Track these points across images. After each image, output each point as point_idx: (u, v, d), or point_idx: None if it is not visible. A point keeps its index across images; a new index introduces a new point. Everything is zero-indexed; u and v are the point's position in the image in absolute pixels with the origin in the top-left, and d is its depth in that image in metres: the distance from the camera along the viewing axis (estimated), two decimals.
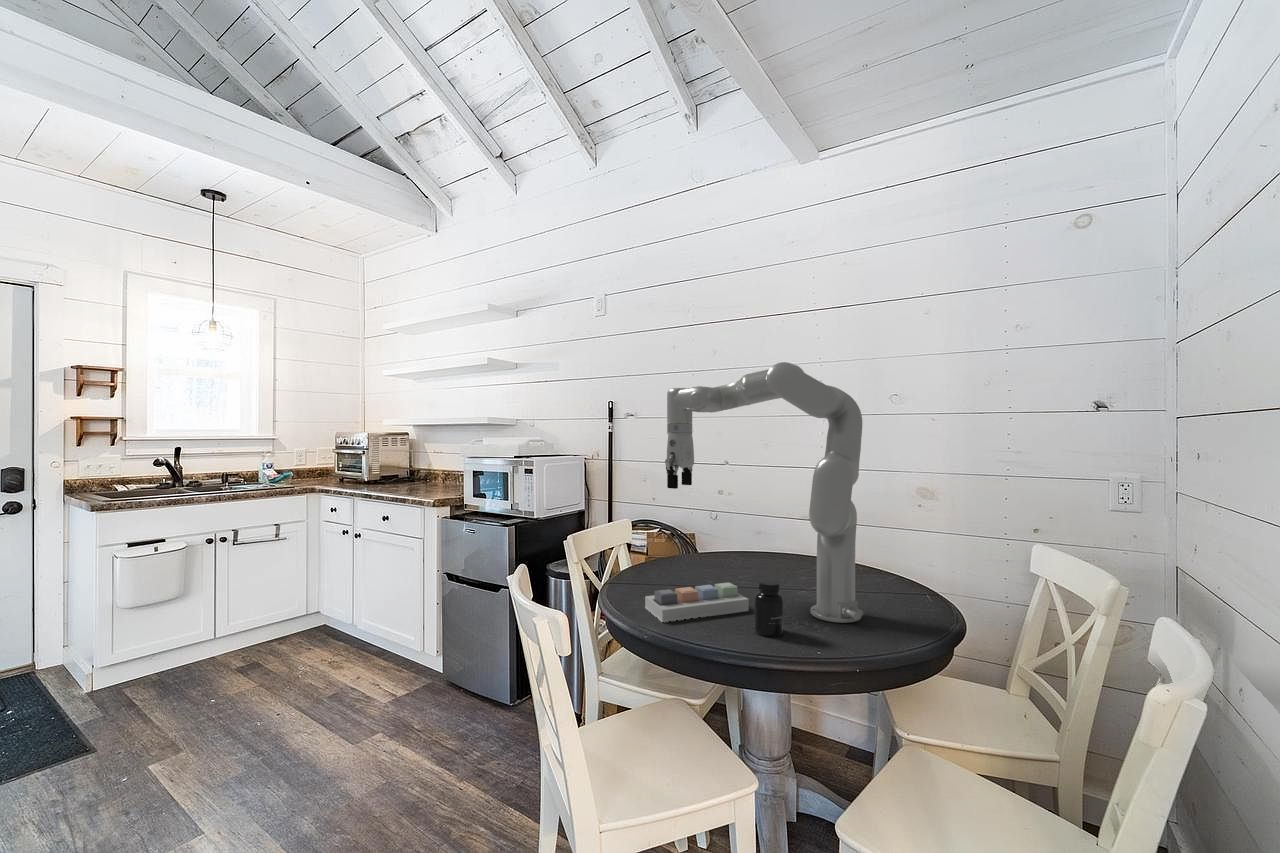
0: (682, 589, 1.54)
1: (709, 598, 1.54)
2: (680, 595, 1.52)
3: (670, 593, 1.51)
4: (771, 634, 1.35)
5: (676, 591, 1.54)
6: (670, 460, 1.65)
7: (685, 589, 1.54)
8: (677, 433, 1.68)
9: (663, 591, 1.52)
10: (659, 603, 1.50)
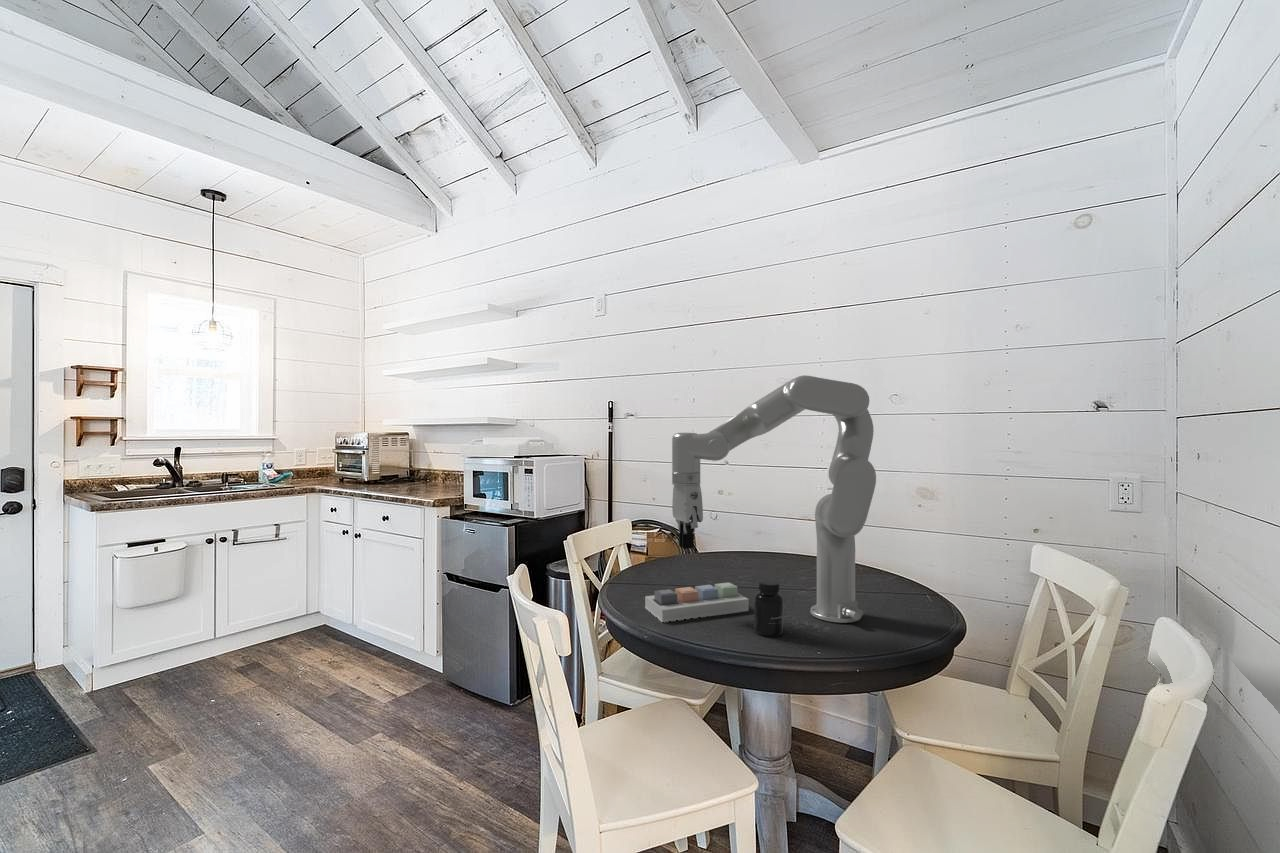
0: (682, 589, 1.54)
1: (709, 598, 1.54)
2: (680, 595, 1.52)
3: (670, 593, 1.51)
4: (771, 634, 1.35)
5: (676, 591, 1.54)
6: None
7: (685, 589, 1.54)
8: (695, 484, 1.51)
9: (663, 591, 1.52)
10: (659, 603, 1.50)
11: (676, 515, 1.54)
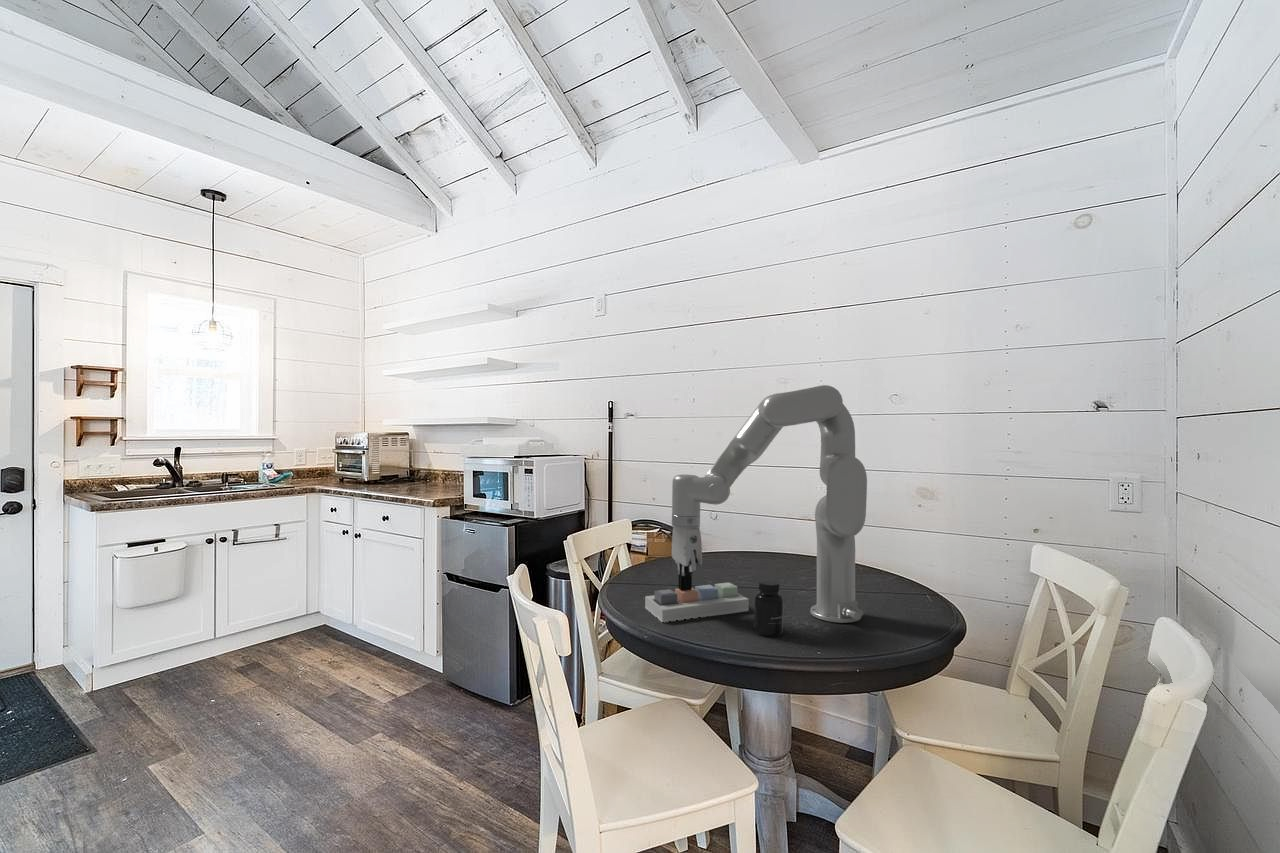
0: None
1: (709, 598, 1.54)
2: (680, 595, 1.52)
3: (670, 593, 1.51)
4: (771, 634, 1.35)
5: (676, 591, 1.54)
6: None
7: None
8: (695, 527, 1.51)
9: (663, 591, 1.52)
10: (659, 603, 1.50)
11: (675, 557, 1.55)
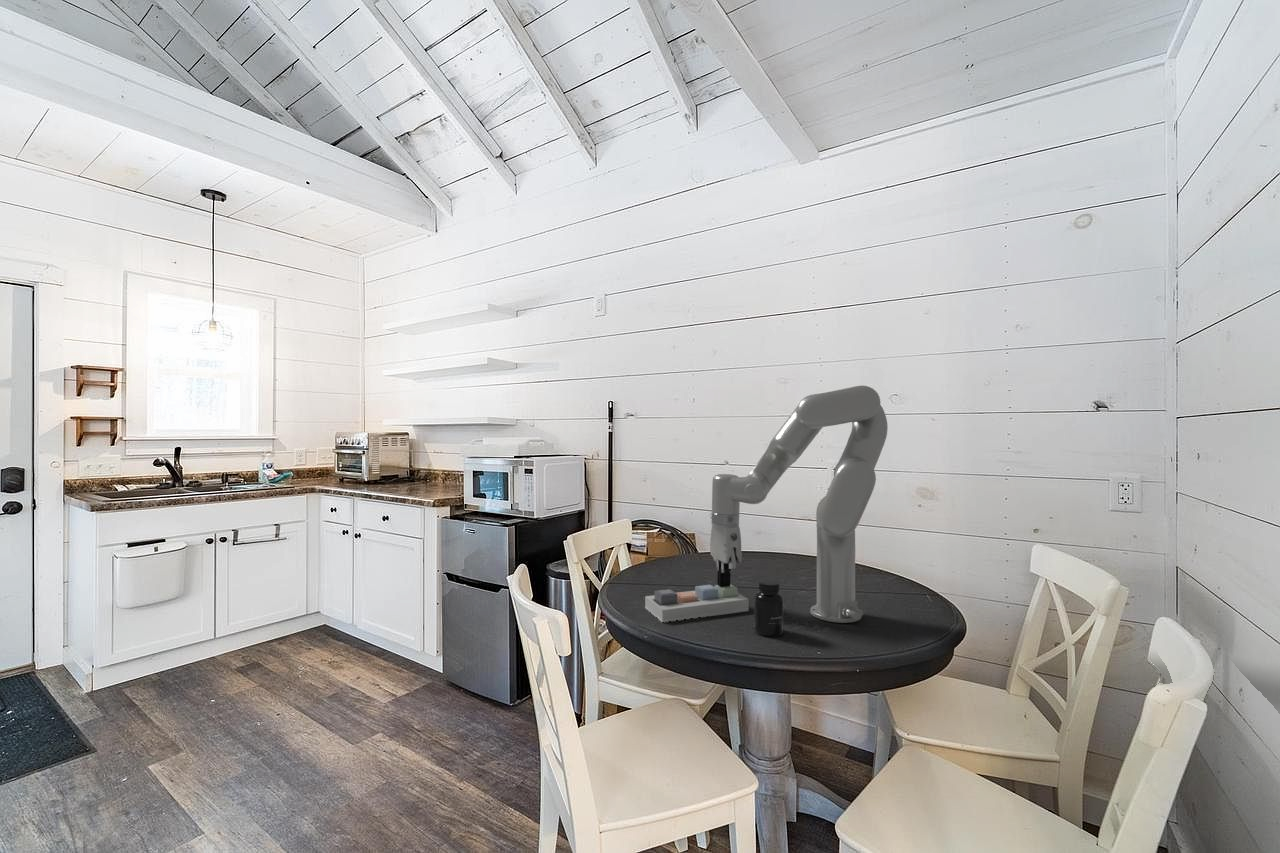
0: (682, 594, 1.54)
1: (709, 598, 1.54)
2: (680, 600, 1.52)
3: (670, 593, 1.51)
4: (771, 634, 1.35)
5: None
6: None
7: (685, 594, 1.54)
8: (735, 525, 1.55)
9: (663, 591, 1.52)
10: (659, 603, 1.50)
11: (714, 554, 1.59)
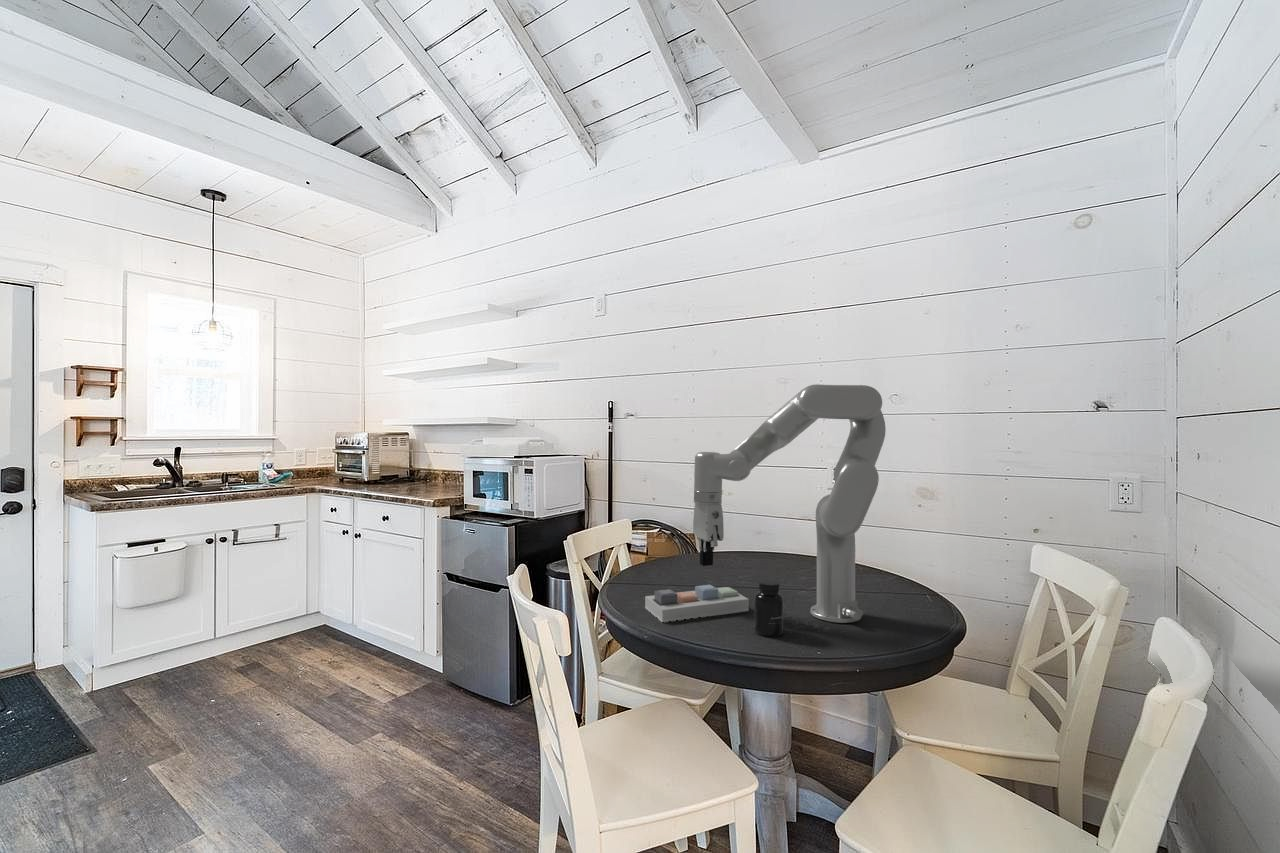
0: (682, 594, 1.54)
1: (709, 598, 1.54)
2: (680, 600, 1.52)
3: (670, 593, 1.51)
4: (771, 634, 1.35)
5: None
6: None
7: (685, 594, 1.54)
8: (717, 503, 1.53)
9: (663, 591, 1.52)
10: (659, 603, 1.50)
11: (697, 533, 1.57)
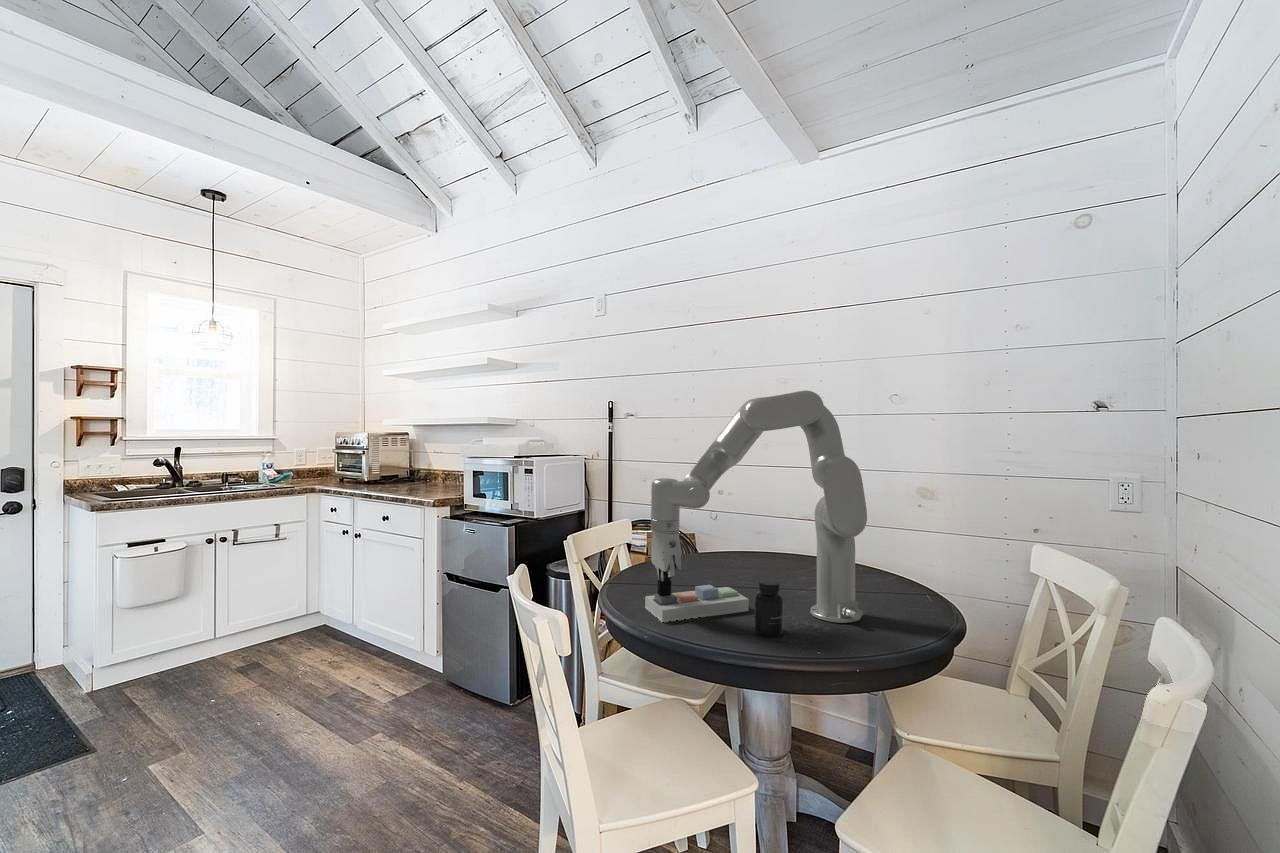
0: (682, 594, 1.54)
1: (709, 598, 1.54)
2: (680, 600, 1.52)
3: (670, 596, 1.51)
4: (771, 634, 1.35)
5: (676, 596, 1.54)
6: None
7: (685, 594, 1.54)
8: (674, 532, 1.49)
9: None
10: None
11: (654, 562, 1.53)
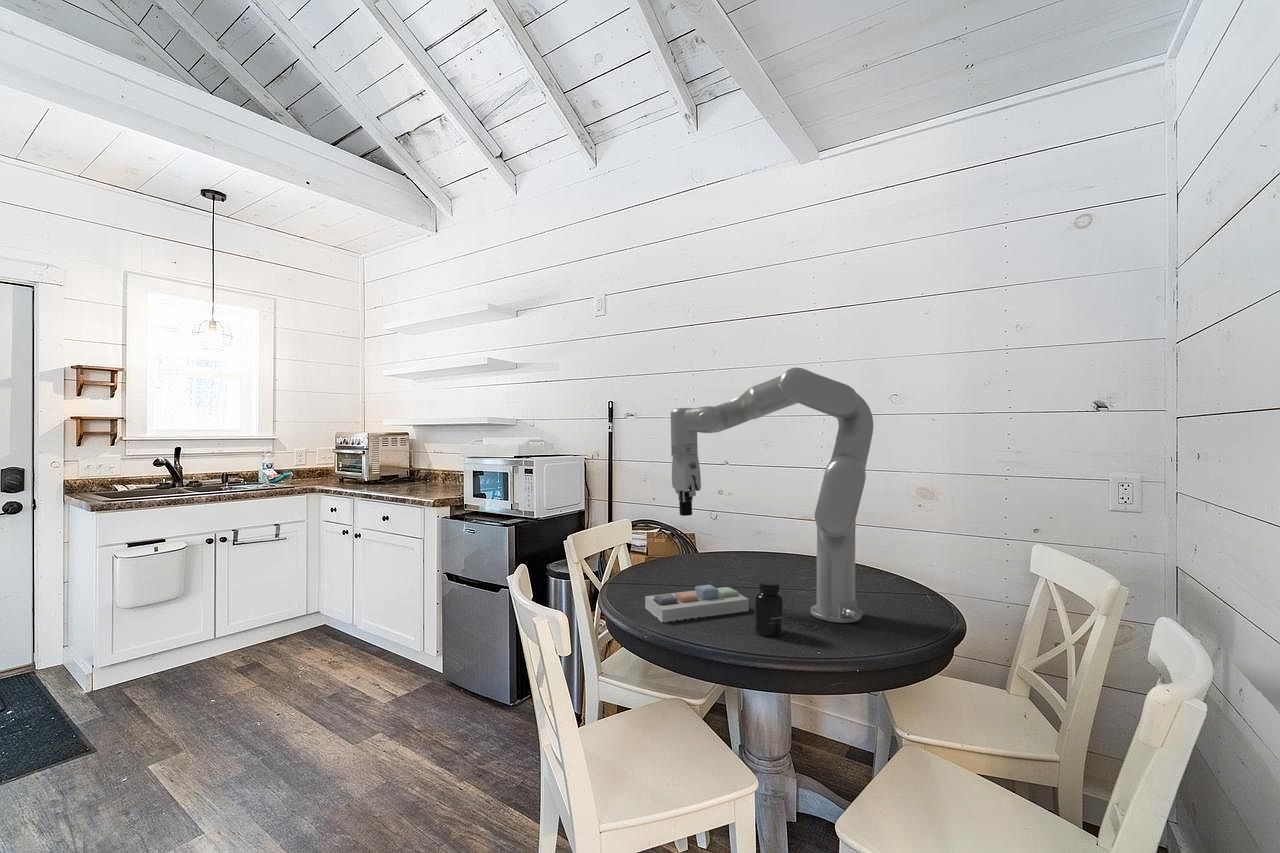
0: (682, 594, 1.54)
1: (709, 598, 1.54)
2: (680, 600, 1.52)
3: (670, 597, 1.51)
4: (771, 634, 1.35)
5: (676, 596, 1.54)
6: None
7: (685, 594, 1.54)
8: (693, 455, 1.61)
9: (663, 596, 1.52)
10: None
11: (676, 485, 1.65)
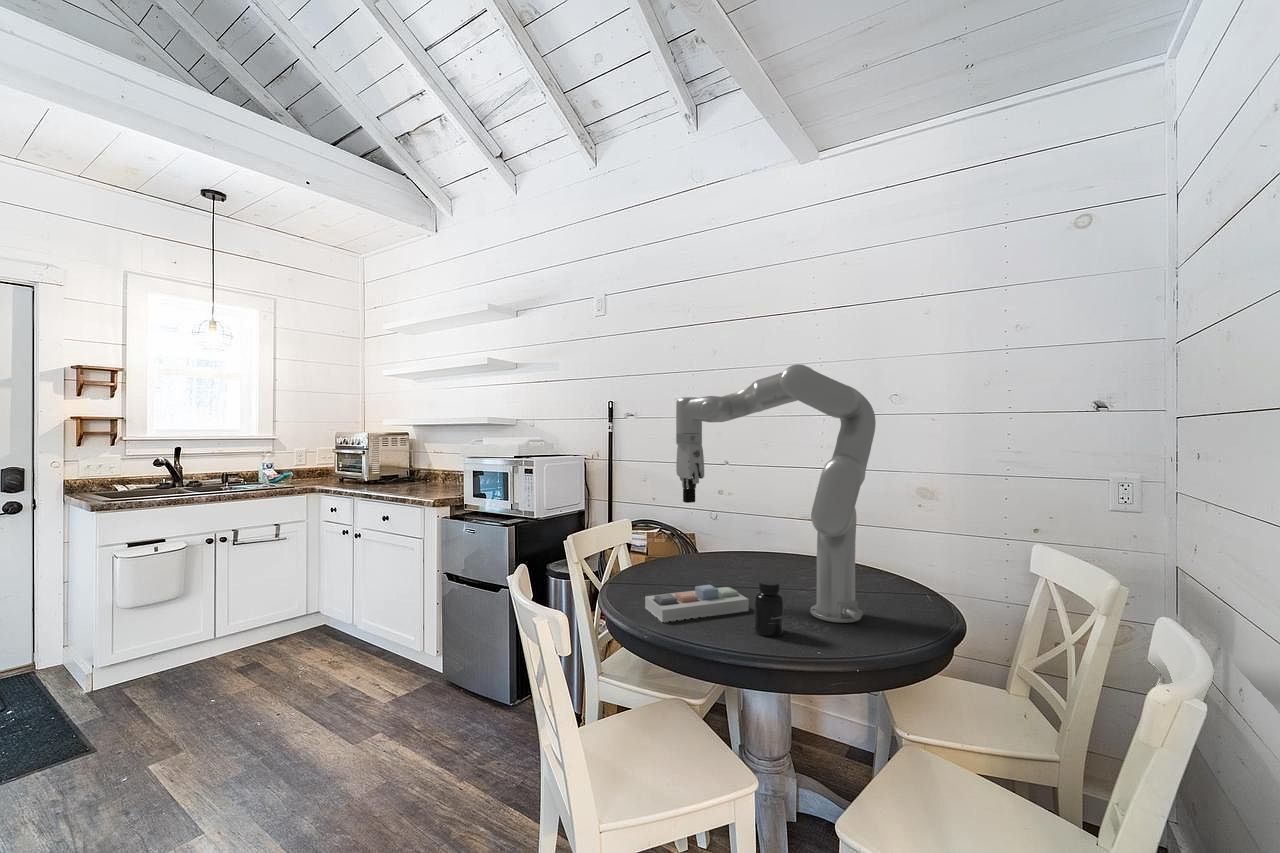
0: (682, 594, 1.54)
1: (709, 598, 1.54)
2: (680, 600, 1.52)
3: (670, 597, 1.51)
4: (771, 634, 1.35)
5: (676, 596, 1.54)
6: None
7: (685, 594, 1.54)
8: (697, 443, 1.65)
9: (663, 596, 1.52)
10: None
11: (680, 473, 1.69)
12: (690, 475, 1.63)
